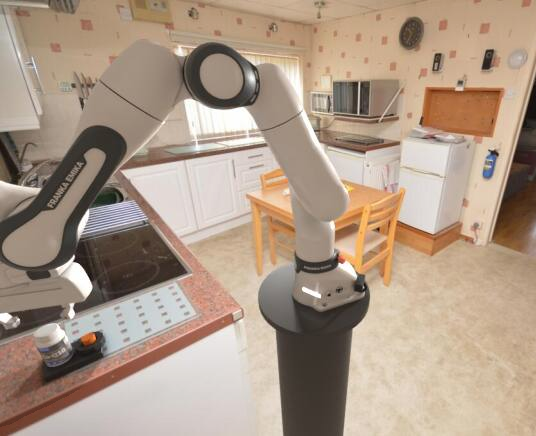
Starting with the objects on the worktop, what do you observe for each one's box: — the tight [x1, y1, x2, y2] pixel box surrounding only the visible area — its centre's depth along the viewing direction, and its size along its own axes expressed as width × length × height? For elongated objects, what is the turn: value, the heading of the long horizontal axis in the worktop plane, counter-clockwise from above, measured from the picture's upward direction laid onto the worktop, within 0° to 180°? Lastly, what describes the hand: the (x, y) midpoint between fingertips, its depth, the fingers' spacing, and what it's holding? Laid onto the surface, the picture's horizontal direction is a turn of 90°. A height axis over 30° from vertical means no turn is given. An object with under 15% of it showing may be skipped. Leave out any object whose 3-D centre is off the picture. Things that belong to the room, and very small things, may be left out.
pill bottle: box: [32, 323, 74, 367], centre depth 62 cm, size 5×5×8 cm
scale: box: [42, 330, 107, 383], centre depth 65 cm, size 11×8×3 cm
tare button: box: [80, 332, 96, 346], centre depth 66 cm, size 2×2×2 cm
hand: (42, 321), depth 59 cm, fingers open, 8 cm apart
